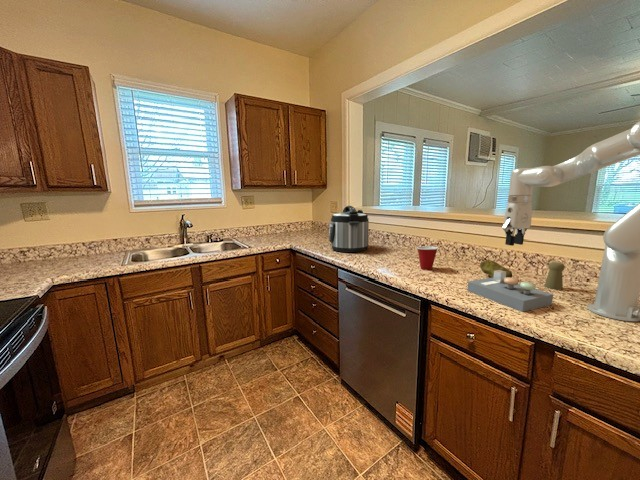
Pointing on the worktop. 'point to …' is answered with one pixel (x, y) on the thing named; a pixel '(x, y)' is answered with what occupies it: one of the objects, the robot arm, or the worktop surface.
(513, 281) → the peach knob
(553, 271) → the cork
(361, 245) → the pressure cooker
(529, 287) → the sage button
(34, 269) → the worktop surface
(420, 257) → the plastic cup
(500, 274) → the slider knob
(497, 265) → the potato
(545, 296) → the panel
